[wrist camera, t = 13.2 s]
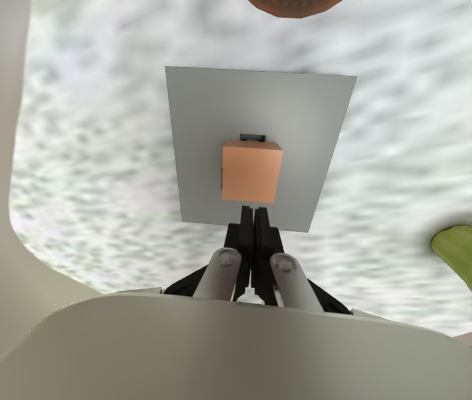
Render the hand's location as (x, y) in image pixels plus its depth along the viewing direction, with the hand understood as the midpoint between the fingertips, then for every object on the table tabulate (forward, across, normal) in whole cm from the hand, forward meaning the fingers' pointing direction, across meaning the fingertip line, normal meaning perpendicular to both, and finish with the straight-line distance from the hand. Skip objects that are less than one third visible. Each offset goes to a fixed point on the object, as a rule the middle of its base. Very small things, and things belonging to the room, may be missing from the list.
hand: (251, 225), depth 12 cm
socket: (+15, 0, -1) cm, 15 cm away
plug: (+15, 0, -1) cm, 15 cm away
